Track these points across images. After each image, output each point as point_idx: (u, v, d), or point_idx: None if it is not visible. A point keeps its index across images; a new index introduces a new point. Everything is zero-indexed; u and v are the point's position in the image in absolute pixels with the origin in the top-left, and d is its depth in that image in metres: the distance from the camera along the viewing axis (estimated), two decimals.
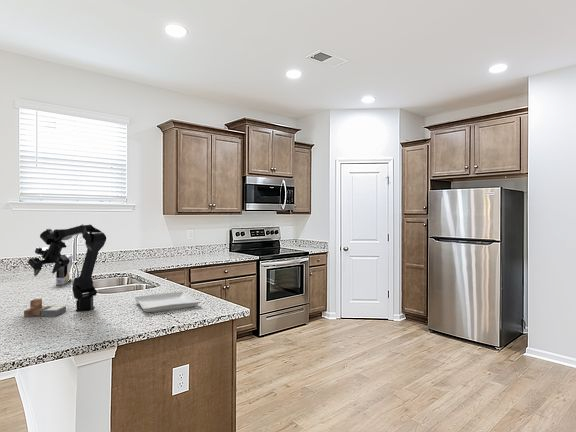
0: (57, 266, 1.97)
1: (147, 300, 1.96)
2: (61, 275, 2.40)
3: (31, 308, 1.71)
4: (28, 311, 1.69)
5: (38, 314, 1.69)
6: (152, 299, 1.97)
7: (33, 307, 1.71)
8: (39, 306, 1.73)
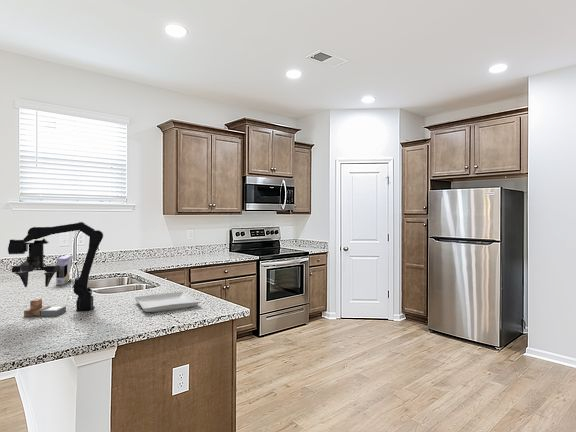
0: (26, 275, 1.73)
1: (147, 300, 1.96)
2: (61, 275, 2.40)
3: (31, 308, 1.71)
4: (28, 311, 1.69)
5: (38, 314, 1.69)
6: (152, 299, 1.97)
7: (33, 307, 1.71)
8: (39, 306, 1.73)
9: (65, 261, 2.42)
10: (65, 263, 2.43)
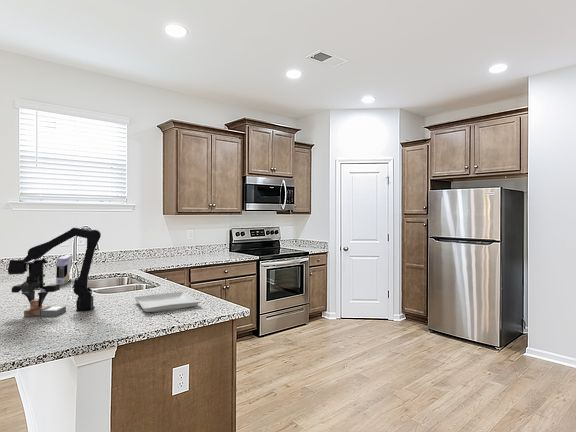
0: (32, 295, 1.73)
1: (147, 300, 1.96)
2: (61, 275, 2.40)
3: (31, 308, 1.71)
4: (28, 311, 1.69)
5: (38, 314, 1.69)
6: (152, 299, 1.97)
7: (33, 307, 1.71)
8: None
9: (65, 261, 2.42)
10: (65, 263, 2.43)
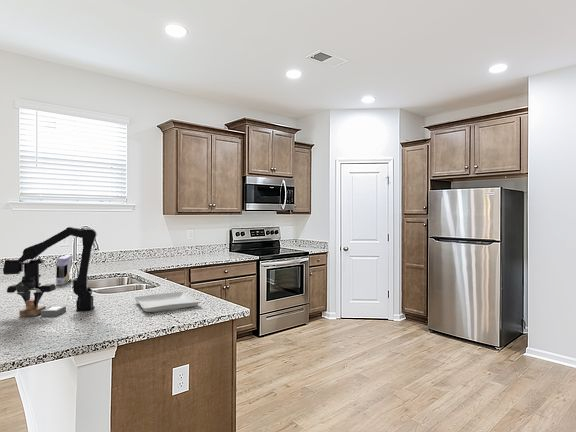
0: (28, 295, 1.73)
1: (147, 300, 1.96)
2: (61, 275, 2.40)
3: (27, 308, 1.70)
4: (24, 311, 1.69)
5: (34, 314, 1.69)
6: (152, 299, 1.97)
7: (29, 307, 1.71)
8: None
9: (65, 261, 2.42)
10: (65, 263, 2.43)
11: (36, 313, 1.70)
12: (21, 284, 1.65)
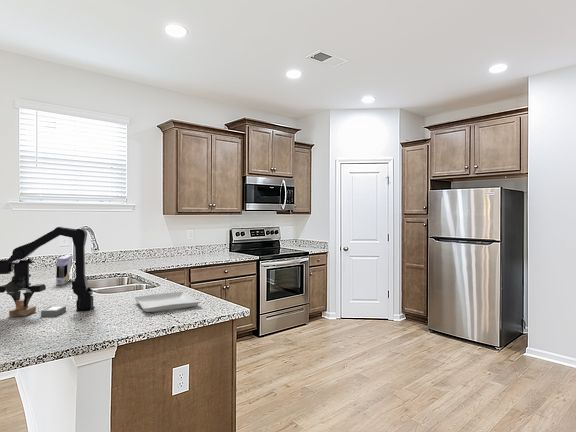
0: (18, 295, 1.73)
1: (147, 300, 1.96)
2: (61, 275, 2.40)
3: (16, 308, 1.70)
4: (13, 311, 1.68)
5: (23, 314, 1.68)
6: (152, 299, 1.97)
7: (19, 307, 1.70)
8: None
9: (65, 261, 2.42)
10: (65, 263, 2.43)
11: (26, 313, 1.69)
12: (11, 284, 1.65)
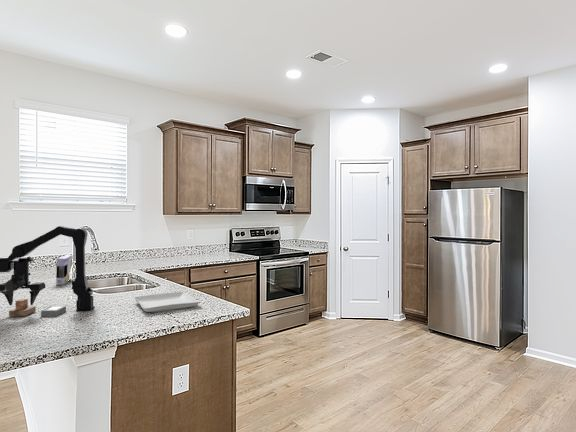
0: (11, 294, 1.73)
1: (147, 300, 1.96)
2: (61, 275, 2.40)
3: (16, 308, 1.70)
4: (13, 311, 1.68)
5: (23, 314, 1.68)
6: (152, 299, 1.97)
7: (18, 307, 1.70)
8: (24, 306, 1.72)
9: (65, 261, 2.42)
10: (65, 263, 2.43)
11: (26, 313, 1.69)
12: (10, 282, 1.65)
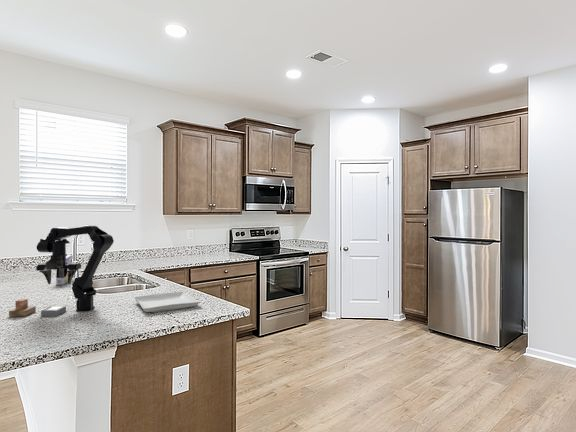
0: (49, 273, 1.84)
1: (147, 300, 1.96)
2: (61, 275, 2.40)
3: (16, 308, 1.70)
4: (13, 311, 1.68)
5: (23, 314, 1.68)
6: (152, 299, 1.97)
7: (18, 307, 1.70)
8: (24, 306, 1.72)
9: None
10: None
11: (26, 313, 1.69)
12: (50, 262, 1.77)
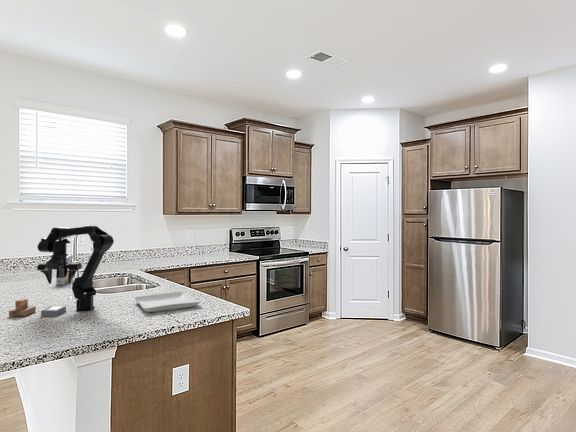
0: (50, 273, 1.84)
1: (147, 300, 1.96)
2: (61, 275, 2.40)
3: (16, 308, 1.70)
4: (13, 311, 1.68)
5: (23, 314, 1.68)
6: (152, 299, 1.97)
7: (18, 307, 1.70)
8: (24, 306, 1.72)
9: None
10: None
11: (26, 313, 1.69)
12: (51, 262, 1.77)
